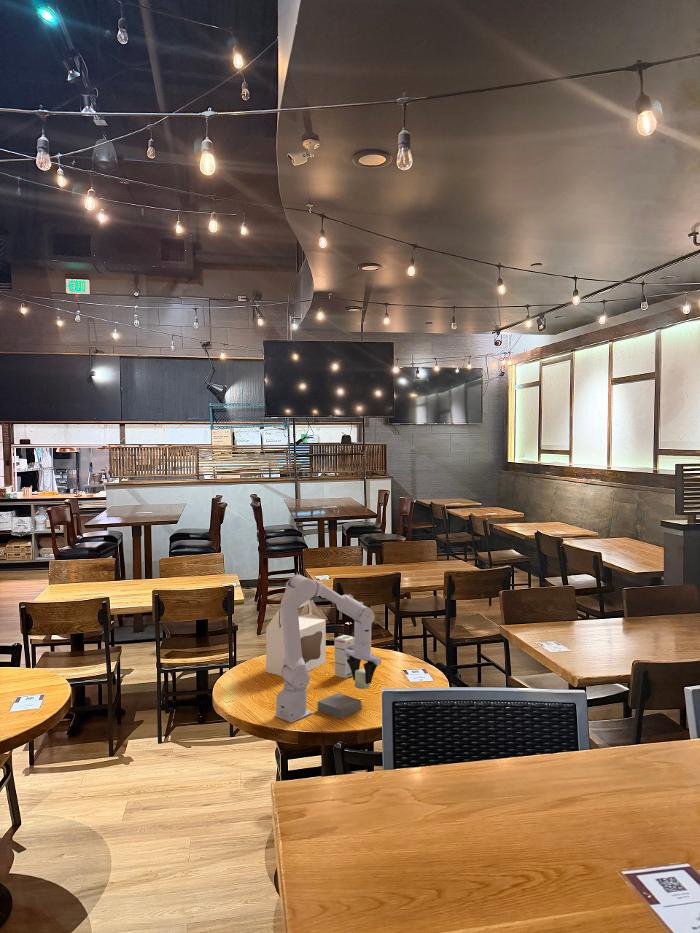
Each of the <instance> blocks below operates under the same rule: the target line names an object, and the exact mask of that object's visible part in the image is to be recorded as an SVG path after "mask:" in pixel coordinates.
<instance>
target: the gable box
mask: <svg viewBox="0 0 700 933" xmlns="http://www.w3.org/2000/svg"><path fill="white" fill-rule="evenodd" d="M302 607H303V608H302ZM299 608H302V610H301V611H300V612H301V613H300V614H299V615H298V617H299V628H300V639H301V649H302V658H303V660H304V662H305V665H306V670H307V672H308V673H309V671H312V670H313V669H316V668H318V667H320V666H321V665H324V664H325V663H326V659H327V658H326V657H327V656H326V654H327V653H326V650H327V649H326V648H327V646H326V645H327V643H326V641H327V640H326V639H327V638H326V636H327V633H326V631H327V630H326V626H327V625H326V624H327V623H326V622H327V621H326V619H325V617H324V615H323V614H322V612H321V611H320V609H319V607H318V606H317V604H316V603H315V601H314V600H313V599H309V600H308V601H306V602H304V603H303V604H302V605H301V606H300V607H299ZM265 632H266V634H265V637H266V638H265V643H266V644H265V645H266V646H265V647H266V648H265V653H266V654H265V662H266V663H265V672H266V673H267V672H268V673H267V674H271V673H272V674H273V675H275V674H276V676H281V677H282V675H281V671H282V668H283V660H284V659H285V657H286V656H285V645H284V635H283V624H282V613H281V608H279V609H278V610H277V612H276V613H275V614H274V616H273V617H272V619H271V620H270V622H269V623H268V624H267V626H266V628H265Z"/></svg>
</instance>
